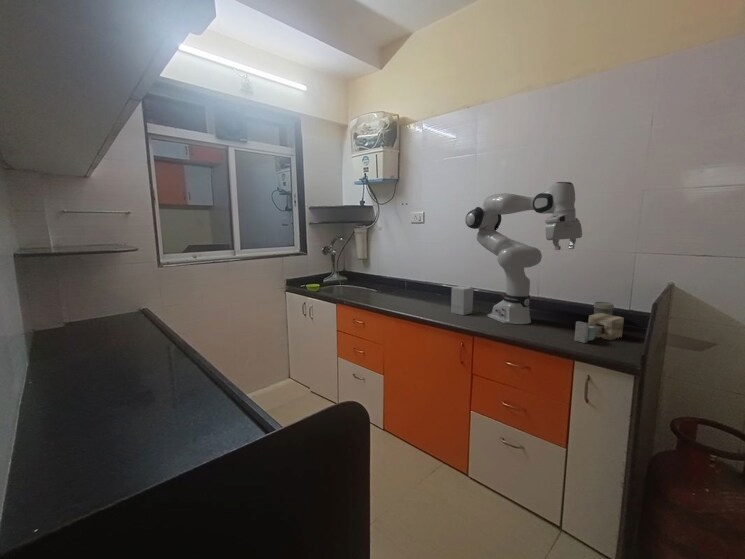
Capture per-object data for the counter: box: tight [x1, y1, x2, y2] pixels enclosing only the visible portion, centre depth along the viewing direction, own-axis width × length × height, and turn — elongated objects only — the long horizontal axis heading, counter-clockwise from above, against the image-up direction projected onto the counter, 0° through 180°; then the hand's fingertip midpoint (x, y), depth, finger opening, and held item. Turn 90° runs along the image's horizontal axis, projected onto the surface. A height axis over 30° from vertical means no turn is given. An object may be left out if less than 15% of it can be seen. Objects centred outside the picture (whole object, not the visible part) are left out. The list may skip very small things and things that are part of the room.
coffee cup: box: [592, 301, 615, 315], centre depth 166 cm, size 8×9×12 cm
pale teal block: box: [588, 326, 596, 341], centre depth 147 cm, size 5×4×5 cm, turn 28°
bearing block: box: [587, 313, 625, 341], centre depth 154 cm, size 10×9×9 cm
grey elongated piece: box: [574, 320, 604, 344], centre depth 149 cm, size 4×18×8 cm, turn 118°
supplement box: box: [450, 285, 474, 316], centre depth 196 cm, size 9×9×15 cm
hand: (564, 249), depth 153 cm, fingers open, 8 cm apart
